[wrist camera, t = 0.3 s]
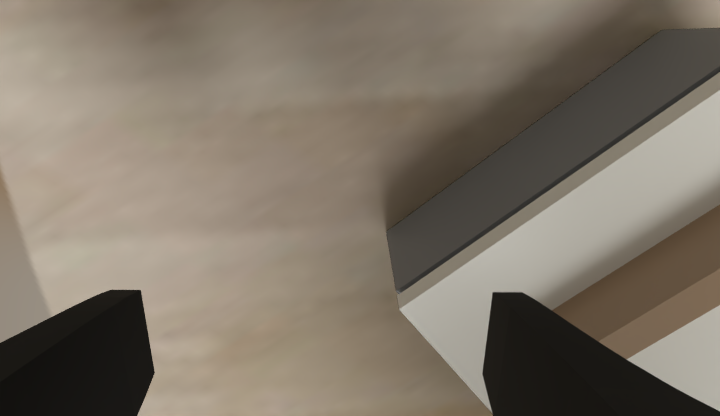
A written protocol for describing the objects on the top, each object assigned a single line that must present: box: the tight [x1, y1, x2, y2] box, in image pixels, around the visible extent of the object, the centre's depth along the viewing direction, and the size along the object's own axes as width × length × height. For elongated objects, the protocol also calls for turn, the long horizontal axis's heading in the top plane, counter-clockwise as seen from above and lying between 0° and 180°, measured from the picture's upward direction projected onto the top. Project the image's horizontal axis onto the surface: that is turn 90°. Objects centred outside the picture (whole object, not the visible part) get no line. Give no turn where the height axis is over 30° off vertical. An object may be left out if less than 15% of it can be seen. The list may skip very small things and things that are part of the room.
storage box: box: [386, 28, 720, 294], centre depth 18 cm, size 12×13×5 cm
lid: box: [397, 72, 720, 414], centre depth 14 cm, size 12×13×3 cm
